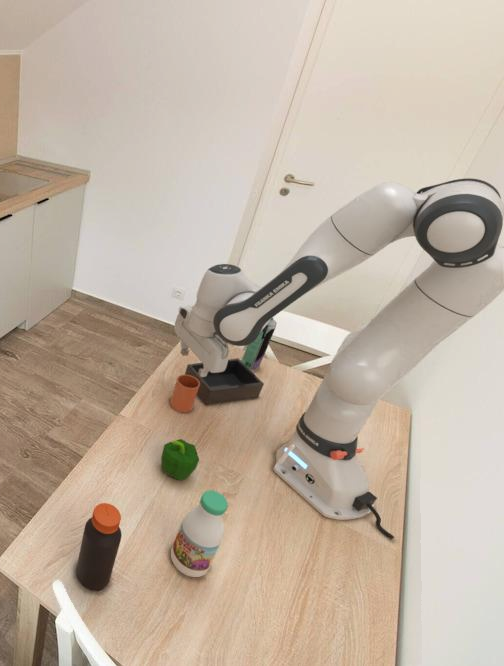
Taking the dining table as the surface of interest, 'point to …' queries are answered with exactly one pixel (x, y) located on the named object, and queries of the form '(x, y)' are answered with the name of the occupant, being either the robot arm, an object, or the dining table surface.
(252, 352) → the spray can
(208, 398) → the dark open tray
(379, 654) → the dining table surface
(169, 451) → the bell pepper
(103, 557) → the vinegar
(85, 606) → the dining table surface
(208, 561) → the milk bottle
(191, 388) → the cup
